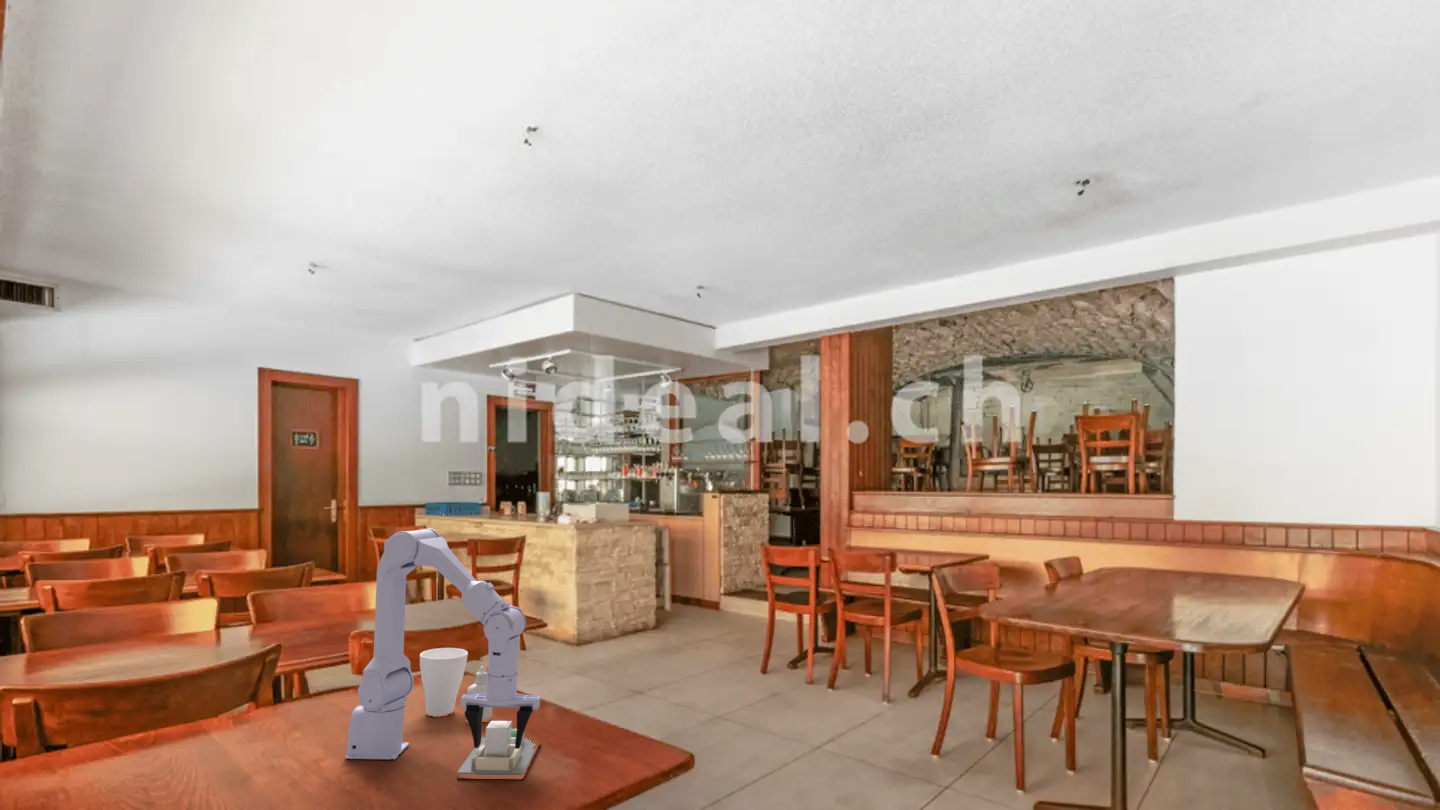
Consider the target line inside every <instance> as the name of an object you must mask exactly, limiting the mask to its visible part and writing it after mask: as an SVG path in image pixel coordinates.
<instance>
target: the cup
mask: <svg viewBox="0 0 1440 810" xmlns="http://www.w3.org/2000/svg"><path fill="white" fill-rule="evenodd" d="M468 655H469V653H468V650H465V649H463V648H458V647H457V648H456V647H440V648H431V649H427V650H424V651H421V652H420V654H419V670H420V677H421V684H422V686H423V694H424V699H425V701H424V702H425V714H426V713H427V714H430V715H442V714H446V713H450V712H452V711H453V710H454V711H455V708H456V701H457V696H458V693H459V690H460V687H461V684H462V682H463V679H464V674H465V670H466V666H467V664H468V663H467V662H468V657H469V656H468Z"/></svg>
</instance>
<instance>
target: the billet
mask: <svg viewBox="0 0 1440 810" xmlns="http://www.w3.org/2000/svg"><path fill="white" fill-rule="evenodd" d="M512 724H513V721H512V720H491V721H489V722H488V724H487V726H486V727H485V736H484V737H485V750H484V757H499V758H510V744H511V729H513V728H512V726H513V725H512Z"/></svg>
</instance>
